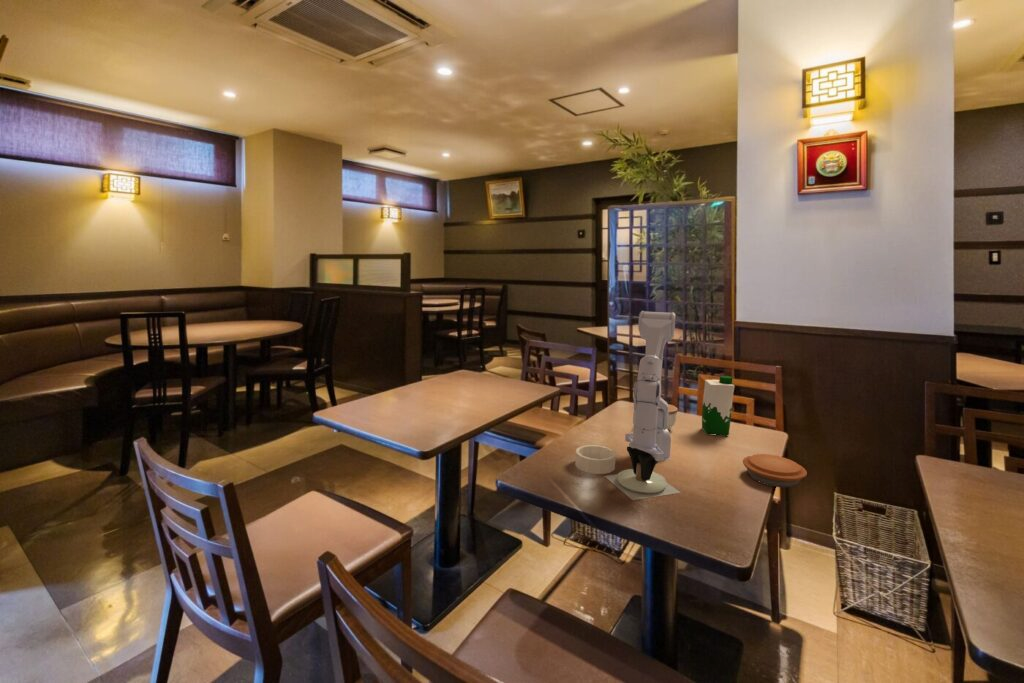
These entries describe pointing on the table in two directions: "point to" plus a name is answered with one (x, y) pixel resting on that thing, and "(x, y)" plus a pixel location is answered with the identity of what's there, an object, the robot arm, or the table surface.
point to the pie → (774, 470)
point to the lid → (641, 481)
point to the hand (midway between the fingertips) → (641, 476)
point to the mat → (640, 495)
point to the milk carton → (717, 405)
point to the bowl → (595, 459)
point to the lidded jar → (671, 415)
